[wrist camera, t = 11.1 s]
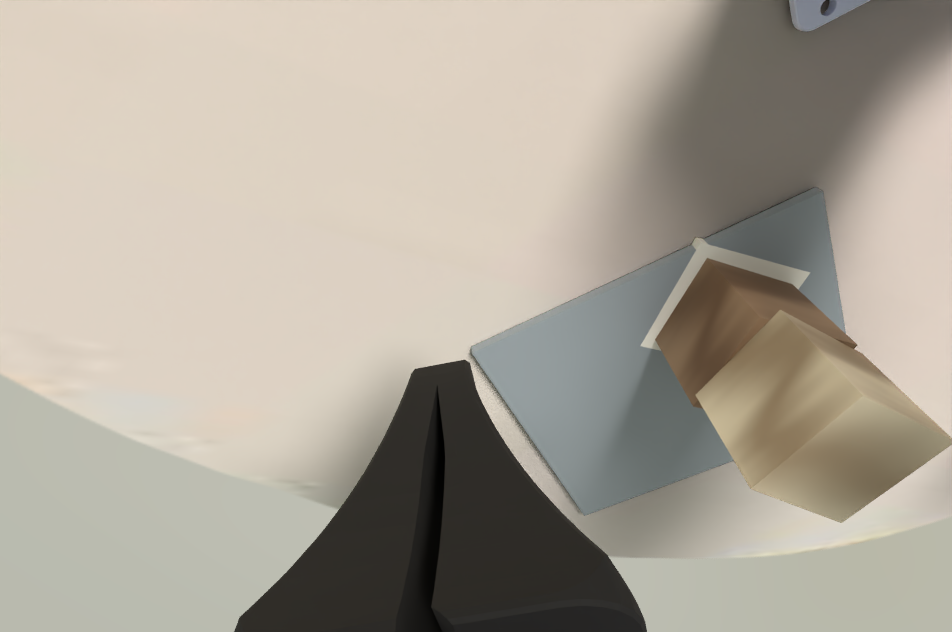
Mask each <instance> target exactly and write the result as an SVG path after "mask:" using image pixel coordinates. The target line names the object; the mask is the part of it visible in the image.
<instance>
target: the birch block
mask: <svg viewBox="0 0 952 632" xmlns="http://www.w3.org/2000/svg"><path fill="white" fill-rule="evenodd" d="M696 397H697V399H698V400H699V402H700V404H701V405H702V407H703V409H704V410H705V412H706V414H707V416H708V417H709V419H710V421H711V422H712V424H713V426H714V427H715V429H716V431H717V433H718V434H719V436H720V438H721V439H722V441H723V443H724V444H725V446H726V448H727V449H728V451H729V453H730V455H731V456H732V458H733V460H734V461H735V463H736V465H737V466H738V468H739V470H740V472H741V473H742V475H743V477H744V478H745V480H746V482H747V483H748V485H749V487H750V488H751V489H752V490H755V491H757V492H760V493H763V494H765V495H768V496H771V497H773V498H776V499H779V500H781V501H784V502H787V503H789V504H792V505H795V506H797V507H800V508H803V509H805V510H808V511H811V512H813V513H816V514H819V515H821V516H824V517H827V518H829V519H832V520H835V521H837V522H840V523H842V522H844V521H845V520H847V519H848V518H849V517H851V516H852V515H854V514H855V513H856V512H858V511H859V510H861V509H862V508H863V507H865V506H866V505H868V504H869V503H870V502H872V501H873V500H875V499H876V498H877V497H879V496H880V495H882V494H883V493H884V492H886V491H887V490H889V489H890V488H891V487H893V486H894V485H896V484H897V483H898V482H900V481H901V480H903V479H904V478H905V477H907V476H908V475H910V474H911V473H912V472H914V471H915V470H917V469H918V468H919V467H921V466H922V465H924V464H925V463H926V462H928V461H929V460H931V459H932V458H933V457H935V456H936V455H938V454H939V453H941V452H942V451H943V450H945V449H946V448H948V447H949V446H950V445H952V438H951V437H950V436H949V435H948V434H947V433H946V432H945V431H943V430H942V429H941V428H940V427H939V426H938V425H937V424H936V423H935V422H934V421H933V420H932V419H931V418H930V417H929V416H928V415H927V414H925V413H924V412H923V411H922V410H921V409H920V408H919V407H918V406H917V405H916V404H915V403H914V402H913V401H912V400H911V399H910V398H909V397H907V396H906V395H905V394H904V393H903V392H902V391H901V390H900V389H899V388H898V387H897V386H896V385H895V384H894V383H893V382H892V381H891V380H889V379H888V378H887V377H886V376H885V375H884V374H883V373H882V372H881V371H880V370H879V369H878V368H877V367H876V366H875V365H874V364H873V363H871V362H870V361H869V360H868V359H867V358H866V357H865V356H864V355H863V354H862V353H860V352H858V351H856V350H855V349H853V348H851V347H849V346H847V345H845V344H843V343H841V342H840V341H838V340H836V339H834V338H832V337H830V336H828V335H827V334H825V333H823V332H821V331H819V330H817V329H815V328H814V327H812V326H810V325H808V324H806V323H804V322H802V321H801V320H799V319H797V318H795V317H793V316H791V315H789V314H788V313H786V312H784V311H782V310H779V311H778V312H777V313H776V314H775V315H774V316H773V317H772V318H771V320H770V321H769V322H768V323H767V324H766V325H765V326H764V327H763V328H762V329H761V330H760V331H759V332H758V333H757V334H756V335H755V336H754V337H753V338H752V339H751V340H750V341H749V342H748V343H747V344H746V345H745V346H744V347H743V348H742V349H741V350H740V351H739V352H738V353H737V354H736V355H735V356H734V357H733V358H732V359H731V360H730V361H729V362H728V363H727V364H726V365H725V366H724V367H723V368H722V369H721V370H720V371H719V372H718V373H717V374H716V375H715V376H714V377H713V378H712V379H711V380H710V381H709V382H708V383H707V384H706V385H705V386H704V387H703V388H702V389H701V390H700V391H699V392H698V393H697V394H696Z"/></svg>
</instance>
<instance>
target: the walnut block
mask: <svg viewBox="0 0 952 632" xmlns="http://www.w3.org/2000/svg"><path fill="white" fill-rule="evenodd" d="M779 310H782V311H784V312H786V313H788V314H789V315H791V316H793V317H795V318H797V319H799V320H801V321H802V322H804V323H806V324H808V325H810V326H812V327H814V328H815V329H817V330H819V331H821V332H823V333H825V334H827V335H828V336H830V337H832V338H834V339H836V340H838V341H840V342H841V343H843V344H845V345H847V346H849V347H851V348H853V349H854V348H855V347H856V346H857V344H856V343H855V342H854V341H853V340H852V339H851V338H849V337H848V336H847V335H846V334H845V333H844V332H843V331H842V330H841V329H840V328H839V327H838V326H837V325H836V324H834V323H833V322H832V321H831V320H830V319H829V318H828V317H827V316H826V315H825V314H824V313H823V312H822V311H821V310H820V309H818V308H817V307H816V306H815V305H814V304H813V303H812V302H811V301H810V300H809V299H808V298H807V297H806V296H805V295H803V294H802V293H801V292H800V291H799V290H798V289H797V288H796V287H795V286H794V285H793V284H791V283H787V282H784V281H781V280H777V279H774V278H771V277H768V276H764V275H761V274H758V273H755V272H751V271H748V270H745V269H742V268H738V267H735V266H732V265H728V264H725V263H722V262H719V261H715V260H712V259H709V258H707V259H706V260H705V262H704V263H703V265H702V267H701V268H700V270H699V271H698V273H697V274H696V276H695V278H694V279H693V281H692V282H691V284H690V285H689V287H688V289H687V290H686V292H685V293H684V295H683V296H682V298H681V300H680V301H679V303H678V304H677V306H676V307H675V309H674V311H673V312H672V314H671V315H670V317H669V318H668V320H667V322H666V323H665V325H664V326H663V328H662V329H661V331H660V333H659V334H658V336H657V337H656V339H655V340H656V342H657V344H658V346H659V348H660V349H661V351H662V353H663V355H664V356H665V358H666V360H667V362H668V363H669V365H670V367H671V369H672V370H673V372H674V374H675V376H676V377H677V379H678V381H679V383H680V384H681V386H682V388H683V390H684V391H685V393H686V395H687V397H688V398H689V400H690V402H691V404H692V405H693V407H697V408H702V409H703V407H702V405H701V404H700V402H699V400H698V399H697V397H696V394H697V393H698V392H699V391H700V390H701V389H702V388H703V387H704V386H705V385H706V384H707V383H708V382H709V381H710V380H711V379H712V378H713V377H714V376H715V375H716V374H717V373H718V372H719V371H720V370H721V369H722V368H723V367H724V366H725V365H726V364H727V363H728V362H729V361H730V360H731V359H732V358H733V357H734V356H735V355H736V354H737V353H738V352H739V351H740V350H741V349H742V348H743V347H744V346H745V345H746V344H747V343H748V342H749V341H750V340H751V339H752V338H753V337H754V336H755V335H756V334H757V333H758V332H759V331H760V330H761V329H762V328H763V327H764V326H765V325H766V324H767V323H768V322H769V321H770V320H771V318H772V317H773V316H774V315H775V314H776V313H777V312H778V311H779Z"/></svg>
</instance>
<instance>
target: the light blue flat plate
mask: <svg viewBox="0 0 952 632" xmlns="http://www.w3.org/2000/svg"><path fill="white" fill-rule="evenodd" d="M707 258H709V259H712V260H715V261H719V262H722V263H725V264H728V265H732V266H735V267H738V268H742V269H745V270H748V271H751V272H755V273H758V274H761V275H764V276H768V277H771V278H774V279H777V280H781V281H784V282H787V283H791V284H793V285H794V286H795V287H796V288H797V289H798V290H799V291H800V292H801V293H802V294H803V295H805V296H806V297H807V298H808V299H809V300H810V301H811V302H812V303H813V304H814V305H815V306H816V307H817V308H818V309H820V310H821V311H822V312H823V313H824V314H825V315H826V316H827V317H828V318H829V319H830V320H831V321H832V322H833V323H834V324H836V325H837V326H838V327H839V328H840V329H841V330H842V331H843V332H844V333H845V334H846V332H845V325H844V319H843V313H842V306H841V300H840V294H839V288H838V281H837V275H836V269H835V262H834V256H833V250H832V244H831V237H830V231H829V225H828V218H827V212H826V206H825V200H824V193H823V191H822V190H820V189H818V188H817V187H815V188H813V189H811V190H808V191H806V192H804V193H802V194H800V195H798V196H795V197H793V198H791V199H789V200H787V201H785V202H782V203H780V204H778V205H776V206H774V207H772V208H770V209H767V210H765V211H763V212H761V213H759V214H757V215H754V216H752V217H750V218H748V219H746V220H744V221H741V222H739V223H737V224H735V225H733V226H731V227H729V228H726V229H724V230H722V231H720V232H718V233H716V234H713V235H711V236H709V237H707V238H705V239H701V238H698V237H696V238H695V239H694V241H693V243H692V245H690V246H688V247H685V248H683V249H681V250H679V251H677V252H675V253H672V254H670V255H668V256H666V257H664V258H662V259H660V260H657V261H655V262H653V263H651V264H649V265H647V266H644V267H642V268H640V269H638V270H636V271H634V272H631V273H629V274H627V275H625V276H623V277H621V278H619V279H616V280H614V281H612V282H610V283H608V284H606V285H603V286H601V287H599V288H597V289H595V290H593V291H591V292H588V293H586V294H584V295H582V296H580V297H578V298H575V299H573V300H571V301H569V302H567V303H565V304H562V305H560V306H558V307H556V308H554V309H552V310H550V311H547V312H545V313H543V314H541V315H539V316H537V317H534V318H532V319H530V320H528V321H526V322H524V323H521V324H519V325H517V326H515V327H513V328H511V329H509V330H506V331H504V332H502V333H500V334H498V335H496V336H493V337H491V338H489V339H487V340H485V341H483V342H481V343H478V344H476V345H474V346H472V347H471V349H472V354H473V356H474V357H475V359H476V360H477V361H478V363H479V364H480V366H481V367H482V369H483V370H484V372H485V373H486V374H487V376H488V377H489V379H490V380H491V382H492V383H493V385H494V386H495V387H496V389H497V390H498V392H499V393H500V395H501V396H502V398H503V399H504V400H505V402H506V403H507V405H508V406H509V408H510V409H511V411H512V412H513V413H514V415H515V416H516V418H517V419H518V421H519V422H520V424H521V425H522V426H523V428H524V429H525V431H526V432H527V434H528V435H529V437H530V438H531V439H532V441H533V442H534V444H535V445H536V447H537V448H538V450H539V451H540V452H541V454H542V455H543V457H544V458H545V460H546V461H547V463H548V464H549V465H550V467H551V468H552V470H553V471H554V473H555V474H556V476H557V477H558V478H559V480H560V481H561V483H562V484H563V486H564V487H565V489H566V490H567V491H568V493H569V494H570V496H571V497H572V499H573V500H574V502H575V503H576V505H577V506H578V507H579V509H580V510H581V512H582V513H583V515H584V516H585V515H588V514H591V513H593V512H596V511H599V510H601V509H604V508H607V507H609V506H612V505H615V504H618V503H620V502H623V501H626V500H628V499H631V498H634V497H636V496H639V495H642V494H644V493H647V492H650V491H653V490H655V489H658V488H661V487H663V486H666V485H669V484H671V483H674V482H677V481H680V480H682V479H685V478H688V477H690V476H693V475H696V474H698V473H701V472H704V471H707V470H709V469H712V468H715V467H717V466H720V465H723V464H725V463H728V462H731V461H734V460H733V458H732V456H731V455H730V453H729V451H728V449H727V448H726V446H725V444H724V443H723V441H722V439H721V438H720V436H719V434H718V433H717V431H716V429H715V427H714V426H713V424H712V422H711V421H710V419H709V417H708V416H707V414H706V412H705V410H704V409H702V408H697V407H693V405H692V404H691V402H690V400H689V398H688V397H687V395H686V393H685V391H684V390H683V388H682V386H681V384H680V383H679V381H678V379H677V377H676V376H675V374H674V372H673V370H672V369H671V367H670V365H669V363H668V362H667V360H666V358H665V356H664V355H663V353H662V351H661V349H660V348H659V346H658V344H657V342H656V340H655V339H656V337H657V336H658V334H659V333H660V331H661V329H662V328H663V326H664V325H665V323H666V322H667V320H668V318H669V317H670V315H671V314H672V312H673V311H674V309H675V307H676V306H677V304H678V303H679V301H680V300H681V298H682V296H683V295H684V293H685V292H686V290H687V289H688V287H689V285H690V284H691V282H692V281H693V279H694V278H695V276H696V274H697V273H698V271H699V270H700V268H701V267H702V265H703V263H704V262H705V260H706V259H707Z"/></svg>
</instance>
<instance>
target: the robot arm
mask: <svg viewBox="0 0 952 632" xmlns="http://www.w3.org/2000/svg"><path fill="white" fill-rule="evenodd" d="M824 1H825V0H789V5H790V11H791V17H792V22H793V25H794V27H795V28H796V29H798V30H801V31H807V32H809V31H812V30H815V29H817V28H819V27H821V26H823V25H825V24H826V23H828V22H830V21H832V20H834V19H836V18H838V17H840V16H842V15H844V14H845V13H847V12H849V11H851V10H853V9H855V8H857V7H859V6H861V5H863V4H865V3H866V2H868V1H870V0H829V1H830V2H829V7H828V9H827V10H826V11H825V12H824V13H823V14H821V12H820V9H821V5H822V4H823V2H824ZM234 632H647V630H646V624H645V621H644V618H643V615H642V613H641V611H640V608H639V606H638V604H637V602H636V600H635V598H634V597H633V595H632V593H631V591H630V589H629V588H628V586H627V585H626V583H625V581H624V580H623V578H622V577H621V575H620V574H619V572H618V571H617V569H616V568H615V566H614V565H613V564H612V562H611V560H610V559H609V557H608V556H607V554H606V553H605V552H603V551H602V550H601V549H600V548H599V547H598V546H596V545H595V544H594V543H593V542H592V541H591V540H590V539H589V538H587V537H586V536H585V535H584V534H583V533H582V532H581V531H580V530H579V529H578V528H577V527H576V526H575V525H574V524H573V523H572V522H571V521H570V520H569V519H568V518H566V517H565V516H564V515H563V514H562V513H561V512H560V510H559V509H558V508H557V507H556V506H555V505H554V504H553V503H552V502H551V501H550V499H549V498H548V497H547V496H546V495H545V494H544V493H543V492H542V491H541V490H540V488H539V487H538V486H537V485H536V484H535V483H534V481H533V480H532V479H531V478H530V476H529V475H528V474H527V473H526V471H525V470H524V469H523V467H522V466H521V465H520V463H519V462H518V461H517V459H516V458H515V457H514V455H513V454H512V452H511V451H510V450H509V448H508V447H507V445H506V444H505V442H504V440H503V439H502V437H501V436H500V434H499V433H498V431H497V429H496V428H495V426H494V424H493V422H492V421H491V419H490V417H489V415H488V413H487V411H486V409H485V407H484V405H483V404H482V401H481V399H480V397H479V395H478V392H477V390H476V386H475V382H474V378H473V374H472V370H471V366H470V363H469V362H467V361H466V360H461V361H455V362H450V363H445V364H439V365H434V366H429V367H423V368H418V369H415V370H414V371H413V372H412V374H411V377H410V379H409V382H408V385H407V387H406V390H405V392H404V395H403V397H402V400H401V402H400V404H399V407H398V409H397V411H396V413H395V415H394V418H393V420H392V422H391V424H390V426H389V428H388V430H387V432H386V434H385V436H384V438H383V440H382V442H381V444H380V446H379V447H378V449H377V451H376V453H375V455H374V456H373V458H372V460H371V462H370V464H369V465H368V467H367V469H366V470H365V472H364V474H363V475H362V477H361V478H360V480H359V482H358V483H357V485H356V486H355V488H354V489H353V491H352V492H351V494H350V495H349V497H348V498H347V499H346V501H345V502H344V504H343V505H342V506H341V508H340V509H339V510H338V512H337V513H336V514H335V516H334V517H333V518H332V520H331V521H330V523H329V524H328V525H327V526H326V528H325V529H324V530H323V531H322V533H321V534H320V535H319V536H318V537H317V539H316V540H315V541H314V542H313V543H312V544H311V546H310V547H309V548H308V549H307V550H306V551H305V552H304V553H303V555H302V556H301V557H300V558H299V559H298V560H297V561H296V562H295V564H294V565H293V566H292V567H291V568H290V569H289V570H288V571H287V573H285V574H284V575H283V576H282V577H281V578H280V580H278V581H277V582H276V583H275V584H274V585H273V586H272V587H271V588H270V589H269V590H268V591H267V592H266V593H265V594H264V595H263V596H262V597H261V598H260V599H259V600H258V601H257V602H256V603H255V604H254V605H252V606H251V607H250V608H249V610H247V611H246V612H245V613H244V614H243V615H242V616H241V617H240V618H239V620H238V623H237V626H236V629H235V631H234Z"/></svg>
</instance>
